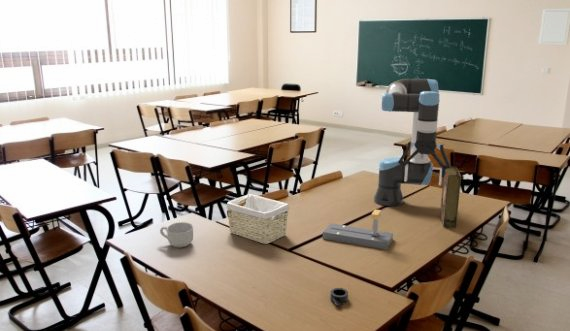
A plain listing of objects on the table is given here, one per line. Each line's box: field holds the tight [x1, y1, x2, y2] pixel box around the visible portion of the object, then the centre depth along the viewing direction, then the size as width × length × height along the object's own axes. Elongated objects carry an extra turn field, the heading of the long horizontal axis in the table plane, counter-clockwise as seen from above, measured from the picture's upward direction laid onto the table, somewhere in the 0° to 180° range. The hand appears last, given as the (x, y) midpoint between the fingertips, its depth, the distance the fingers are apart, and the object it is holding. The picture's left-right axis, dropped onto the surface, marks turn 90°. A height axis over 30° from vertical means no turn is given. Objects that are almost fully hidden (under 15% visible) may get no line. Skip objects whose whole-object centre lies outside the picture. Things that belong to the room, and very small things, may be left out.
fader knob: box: [371, 209, 382, 236], centre depth 200 cm, size 3×6×10 cm, turn 157°
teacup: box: [159, 221, 194, 249], centre depth 198 cm, size 14×11×8 cm
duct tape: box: [329, 287, 349, 307], centre depth 157 cm, size 8×10×3 cm
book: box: [439, 165, 462, 229], centre depth 221 cm, size 16×6×25 cm, turn 168°
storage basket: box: [226, 193, 290, 245], centre depth 208 cm, size 24×16×15 cm
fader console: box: [322, 223, 394, 250], centre depth 204 cm, size 28×11×3 cm, turn 67°
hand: (422, 182), depth 193 cm, fingers open, 13 cm apart
